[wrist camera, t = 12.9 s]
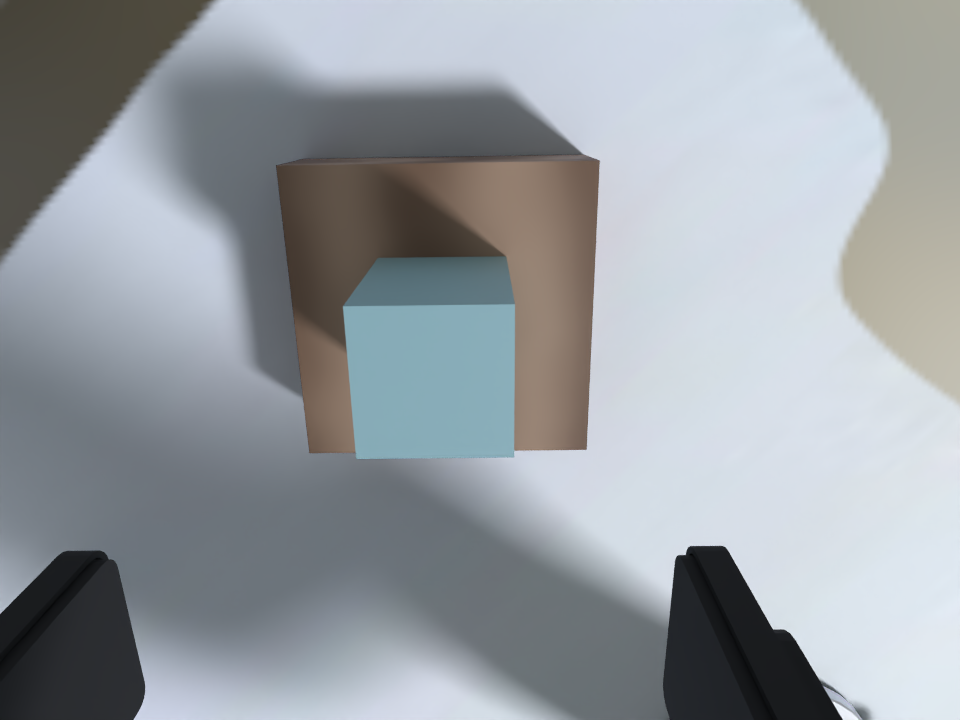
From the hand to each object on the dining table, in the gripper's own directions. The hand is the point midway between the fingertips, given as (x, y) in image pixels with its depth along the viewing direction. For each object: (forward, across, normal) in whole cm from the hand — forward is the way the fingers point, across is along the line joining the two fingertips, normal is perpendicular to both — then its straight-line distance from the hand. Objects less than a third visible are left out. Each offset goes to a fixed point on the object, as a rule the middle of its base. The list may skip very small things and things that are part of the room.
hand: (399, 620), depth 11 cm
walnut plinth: (+21, 0, 0) cm, 21 cm away
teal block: (+17, 0, 0) cm, 17 cm away
